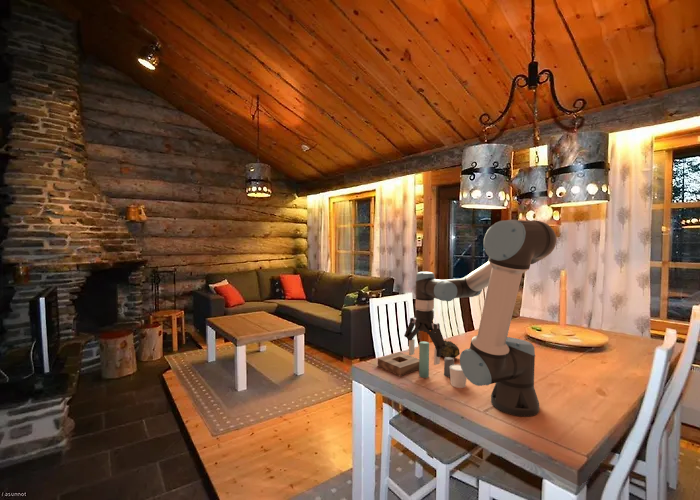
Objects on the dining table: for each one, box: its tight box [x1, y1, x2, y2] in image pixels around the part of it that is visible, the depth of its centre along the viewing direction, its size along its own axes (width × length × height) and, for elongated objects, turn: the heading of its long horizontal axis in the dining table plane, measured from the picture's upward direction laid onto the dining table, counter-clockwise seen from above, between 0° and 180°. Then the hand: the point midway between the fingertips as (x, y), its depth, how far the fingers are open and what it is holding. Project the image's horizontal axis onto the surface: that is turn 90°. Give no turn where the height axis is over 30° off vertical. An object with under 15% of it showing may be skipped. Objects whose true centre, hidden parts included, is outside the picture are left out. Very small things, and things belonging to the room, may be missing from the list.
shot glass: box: [449, 364, 468, 389], centre depth 137 cm, size 7×7×7 cm
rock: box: [434, 340, 461, 359], centre depth 168 cm, size 12×9×8 cm
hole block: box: [377, 352, 419, 377], centre depth 155 cm, size 14×14×4 cm
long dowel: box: [418, 341, 430, 379], centre depth 145 cm, size 4×4×14 cm
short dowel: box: [443, 357, 455, 378], centre depth 146 cm, size 4×4×7 cm
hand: (423, 359), depth 145 cm, fingers open, 13 cm apart
